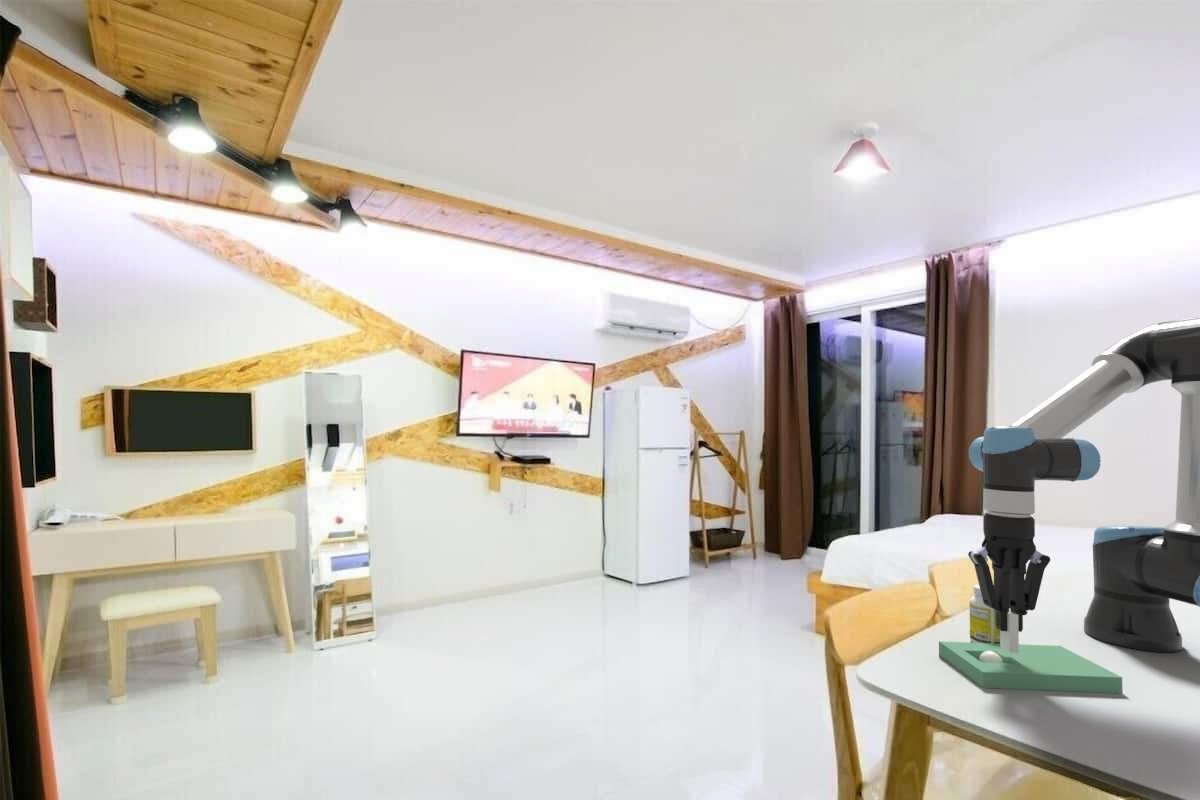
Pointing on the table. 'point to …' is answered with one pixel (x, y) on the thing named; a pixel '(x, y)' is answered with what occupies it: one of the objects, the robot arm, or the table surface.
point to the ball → (990, 657)
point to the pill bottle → (982, 620)
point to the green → (1030, 668)
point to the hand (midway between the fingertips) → (1009, 649)
